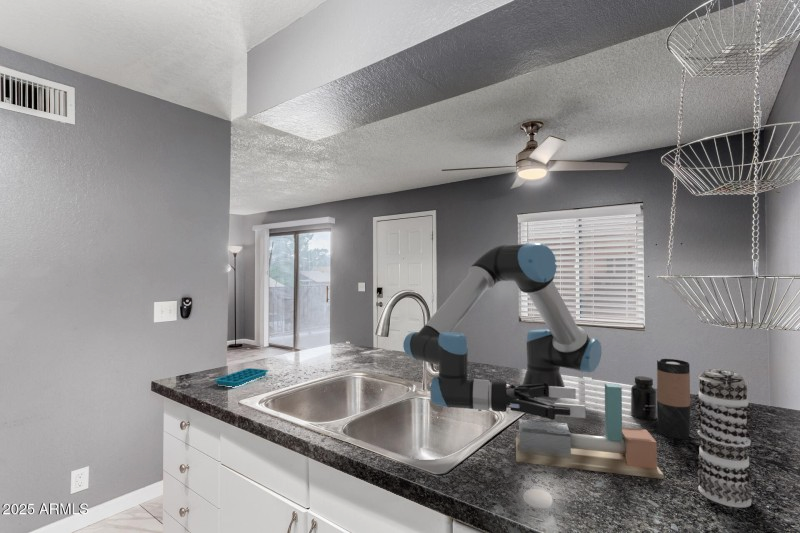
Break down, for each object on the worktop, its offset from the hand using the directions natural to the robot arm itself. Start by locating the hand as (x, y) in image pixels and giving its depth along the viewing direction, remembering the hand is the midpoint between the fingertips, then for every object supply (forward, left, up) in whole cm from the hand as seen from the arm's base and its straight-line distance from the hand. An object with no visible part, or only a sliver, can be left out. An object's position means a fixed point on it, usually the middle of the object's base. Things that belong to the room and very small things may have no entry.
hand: (580, 401), depth 97 cm
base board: (0, 0, -14) cm, 14 cm away
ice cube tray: (-37, -125, -14) cm, 131 cm away
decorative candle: (+10, +25, -14) cm, 30 cm away
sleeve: (0, -9, -13) cm, 15 cm away
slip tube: (0, +4, -11) cm, 12 cm away
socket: (0, +12, -13) cm, 18 cm away
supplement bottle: (-34, +23, -14) cm, 44 cm away
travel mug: (-22, +27, -14) cm, 38 cm away
